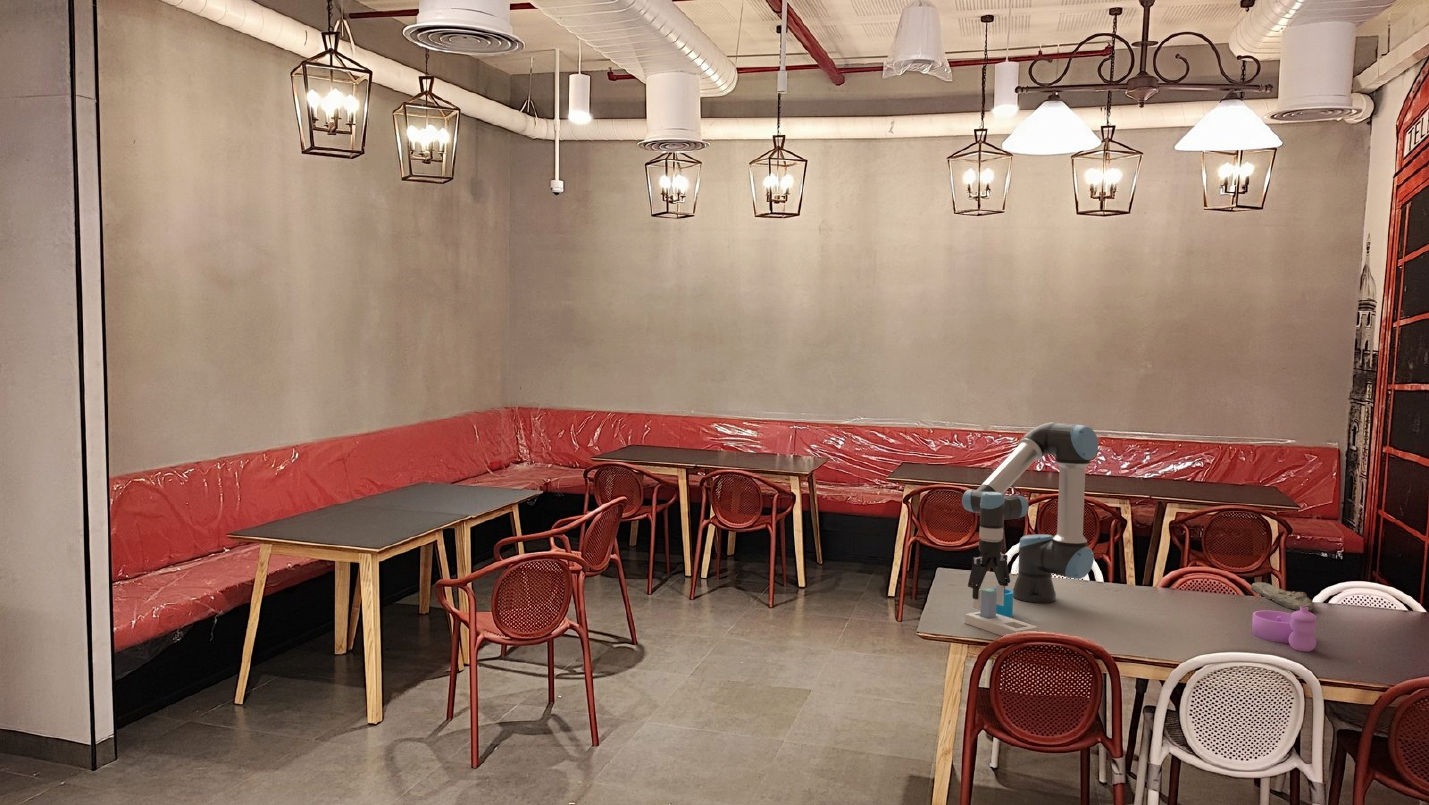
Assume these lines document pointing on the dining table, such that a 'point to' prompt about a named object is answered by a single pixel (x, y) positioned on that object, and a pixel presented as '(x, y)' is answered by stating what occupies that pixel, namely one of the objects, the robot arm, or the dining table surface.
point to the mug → (1006, 604)
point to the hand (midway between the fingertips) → (988, 606)
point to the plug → (988, 603)
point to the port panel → (998, 624)
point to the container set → (1286, 628)
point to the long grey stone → (1283, 596)
